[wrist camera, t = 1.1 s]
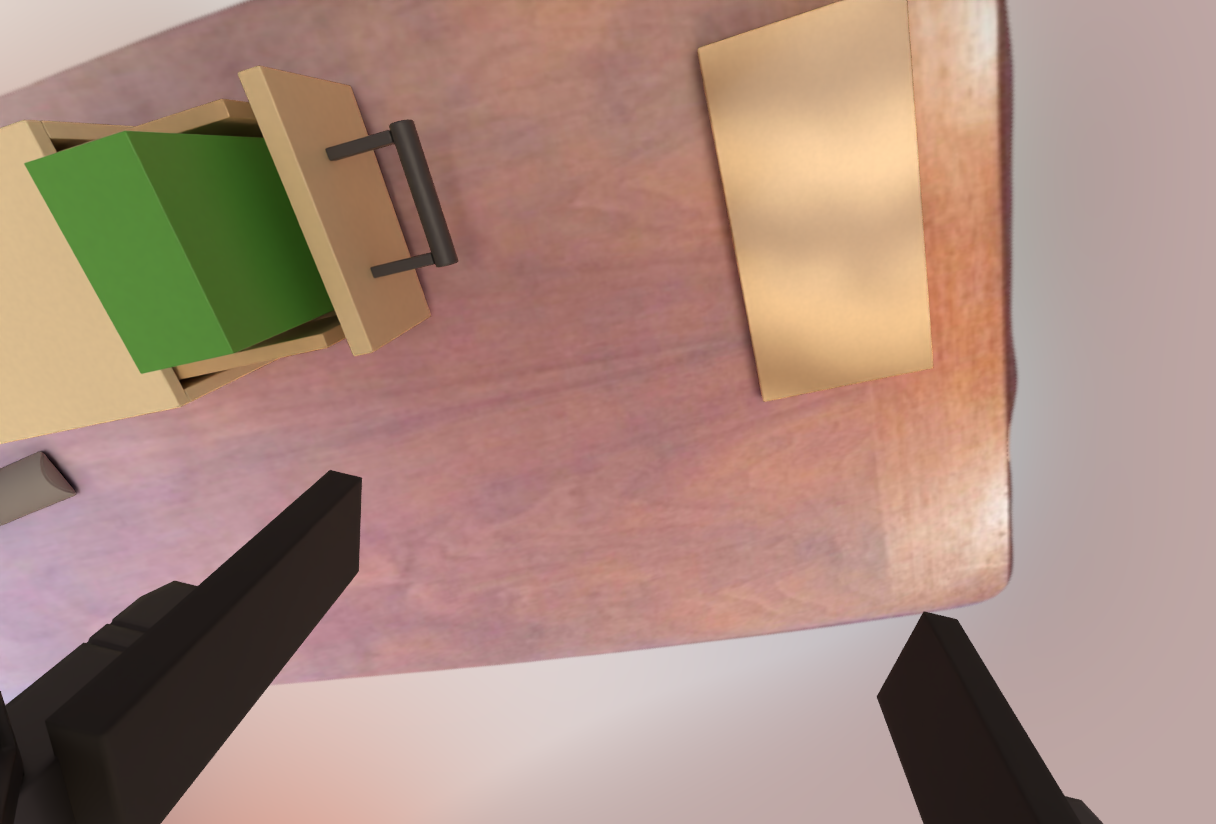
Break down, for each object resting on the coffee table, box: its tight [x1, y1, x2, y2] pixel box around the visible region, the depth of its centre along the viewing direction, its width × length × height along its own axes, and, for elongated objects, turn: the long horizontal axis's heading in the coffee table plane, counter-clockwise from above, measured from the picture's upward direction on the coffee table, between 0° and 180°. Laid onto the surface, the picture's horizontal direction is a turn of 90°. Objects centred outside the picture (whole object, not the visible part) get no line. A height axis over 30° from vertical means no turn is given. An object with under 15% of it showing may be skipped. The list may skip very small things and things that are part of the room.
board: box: [697, 0, 933, 402], centre depth 33 cm, size 20×10×1 cm, turn 15°
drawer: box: [59, 66, 458, 380], centre depth 33 cm, size 19×13×8 cm
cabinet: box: [0, 120, 279, 444], centre depth 35 cm, size 16×15×10 cm
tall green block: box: [24, 131, 334, 374], centre depth 30 cm, size 5×9×12 cm, turn 13°
